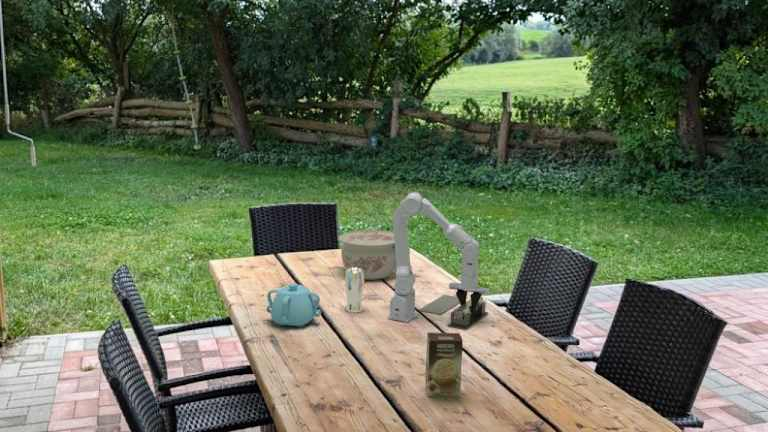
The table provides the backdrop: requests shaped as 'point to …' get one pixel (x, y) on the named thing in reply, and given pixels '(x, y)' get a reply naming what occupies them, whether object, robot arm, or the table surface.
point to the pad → (441, 305)
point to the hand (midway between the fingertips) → (468, 311)
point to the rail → (465, 309)
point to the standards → (468, 318)
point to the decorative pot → (293, 305)
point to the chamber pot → (369, 252)
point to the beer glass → (354, 289)
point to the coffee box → (443, 364)
